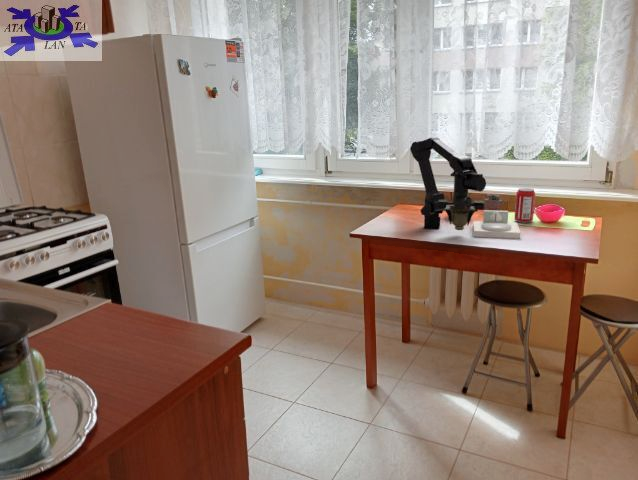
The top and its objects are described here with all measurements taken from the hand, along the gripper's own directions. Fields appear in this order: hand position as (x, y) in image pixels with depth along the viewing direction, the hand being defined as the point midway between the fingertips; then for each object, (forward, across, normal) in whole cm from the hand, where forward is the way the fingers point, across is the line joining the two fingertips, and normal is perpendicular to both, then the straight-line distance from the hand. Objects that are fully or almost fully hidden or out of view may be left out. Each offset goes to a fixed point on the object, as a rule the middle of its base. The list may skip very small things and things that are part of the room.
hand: (459, 224), depth 204 cm
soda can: (+5, +28, +27) cm, 39 cm away
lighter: (+5, +15, +38) cm, 41 cm away
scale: (+5, +15, +7) cm, 17 cm away
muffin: (+5, 0, +30) cm, 30 cm away
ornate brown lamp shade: (+2, 0, 0) cm, 2 cm away
